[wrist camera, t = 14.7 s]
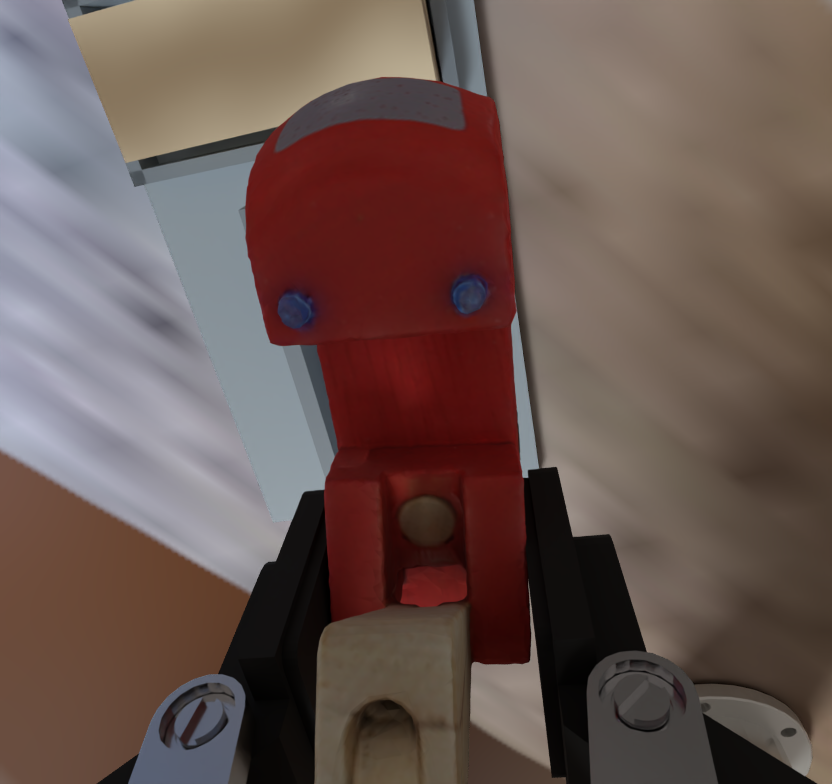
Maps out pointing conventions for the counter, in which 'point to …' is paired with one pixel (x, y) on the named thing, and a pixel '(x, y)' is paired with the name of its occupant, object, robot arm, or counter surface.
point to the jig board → (237, 297)
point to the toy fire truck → (402, 408)
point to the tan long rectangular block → (240, 62)
